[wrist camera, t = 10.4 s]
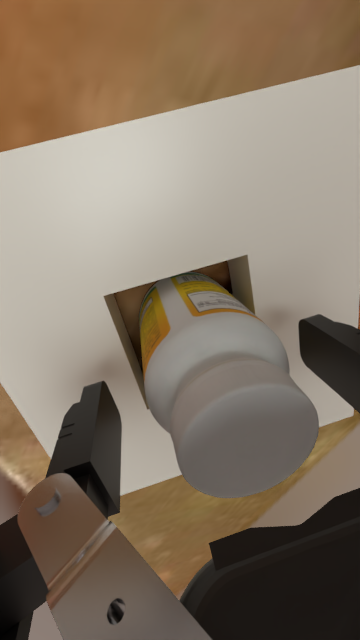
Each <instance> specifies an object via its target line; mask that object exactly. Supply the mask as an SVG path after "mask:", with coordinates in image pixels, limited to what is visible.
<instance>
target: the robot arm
mask: <svg viewBox="0 0 360 640" xmlns="http://www.w3.org/2000/svg"><path fill="white" fill-rule="evenodd" d="M298 328H299V346H300V355H301V358H302V361H303V362H304V364H305V365H306V366H307V367H308V368H309V369H310V370H311V371H312V372H313V373H314V374H316V375H317V376H318V377H319V378H320V379H321V380H322V381H324V382H325V383H326V384H327V385H328V386H329V387H330V388H332V389H333V390H334V391H335V392H336V393H337V394H338V395H340V396H341V397H342V398H343V399H344V400H345V401H346V402H347V403H349V404H350V405H351V406H352V407H353V408H354V409H355V410H357V411H358V412H359V413H360V330H359V329H357V328H355V327H353V326H351V325H348V324H344V323H340V322H334V321H332V320H330V319H328V318H327V317H325V316H323V315H321V314H317V315H314V316H311V317H307V318H304V319H301V320H300V321H299V324H298ZM121 438H122V423H121V417H120V413H119V410H118V408H117V406H116V404H115V401H114V399H113V397H112V395H111V392H110V390H109V388H108V386H107V384H106V382H105V381H100V382H97V383H94V384H91V385H87V386H84V388H83V391H82V395H81V399H80V402H78V403H74V404H73V405H72V406H71V407H70V409H69V410H68V411H67V413H66V414H65V416H64V419H63V422H62V425H61V430H60V432H59V435H58V440H57V442H56V445H55V448H54V452H53V455H52V458H51V462H50V465H49V468H48V471H47V475H46V478H45V479H44V480H42V481H41V482H40V483H38V484H37V485H36V486H35V487H34V488H33V489H32V490H31V491H30V492H29V493H28V495H27V496H26V497H25V499H24V501H23V502H22V504H21V506H20V509H19V512H18V514H17V515H15V516H14V517H12V518H11V519H9V520H8V521H6V522H5V523H3V524H1V525H0V640H28V637H29V632H30V627H31V621H32V616H33V611H34V610H35V609H36V608H38V607H39V606H40V605H42V604H43V603H44V602H45V601H47V603H48V606H49V608H50V610H51V613H52V615H53V618H54V620H55V622H56V624H57V626H58V629H59V631H60V633H61V636H62V638H63V640H360V488H358V489H356V490H353V491H350V492H347V493H345V494H342V495H339V496H336V497H334V498H333V499H332V500H330V501H329V502H328V503H327V504H326V505H324V506H323V507H322V508H321V509H320V510H318V511H317V512H316V513H315V514H313V515H312V516H311V517H310V518H309V519H307V520H306V521H305V522H304V523H302V524H300V525H297V526H280V527H258V528H249V529H246V530H243V531H241V532H238V533H235V534H233V535H230V536H227V537H224V538H222V539H219V540H216V541H213V542H211V543H209V545H210V549H211V553H212V557H213V558H212V559H211V560H210V561H209V562H207V563H206V564H205V565H204V566H203V567H202V568H201V569H200V570H199V571H198V572H197V573H196V575H195V576H194V577H193V579H192V580H191V582H190V583H189V584H188V586H187V588H186V589H185V591H184V593H183V595H182V596H181V599H180V601H179V600H178V599H177V598H176V596H175V595H174V594H173V593H172V592H171V590H170V589H169V588H168V587H167V586H166V585H165V583H164V582H163V581H162V580H161V579H160V577H159V576H158V575H157V574H156V573H155V572H154V570H153V569H152V568H151V567H150V566H149V564H148V563H147V562H146V561H145V560H144V559H143V557H142V556H141V555H140V554H139V553H138V551H137V550H136V549H135V548H134V547H133V546H132V544H131V543H130V542H129V541H128V540H127V538H126V537H125V536H124V535H123V534H122V533H121V531H120V530H119V529H118V528H117V527H116V526H115V524H114V523H113V522H111V521H110V522H109V521H108V516H111V515H114V514H117V513H120V478H121Z"/></svg>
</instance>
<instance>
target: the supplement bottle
mask: <svg viewBox="0 0 360 640" xmlns="http://www.w3.org/2000/svg"><path fill="white" fill-rule="evenodd" d="M139 328H140V340H141V351H142V364H143V377H144V387H145V395H146V400H147V403H148V407H149V409H150V411H151V413H152V415H153V417H154V418H155V420H156V421H157V422H158V423H159V425H160V426H161V427H162V428H163V429H164V430H166V431H167V432H168V433H170V434H171V438H172V441H173V445H174V449H175V454H176V458H177V463H178V466H179V469H180V471H181V473H182V475H183V477H184V478H185V480H186V481H187V482H188V483H189V484H190V485H191V486H192V487H194V488H195V489H197V490H198V491H200V492H203V493H205V494H207V495H211V496H215V497H220V498H237V497H245V496H249V495H252V494H256V493H259V492H262V491H265V490H267V489H269V488H271V487H273V486H275V485H277V484H279V483H280V482H282V481H283V480H285V479H286V478H287V477H289V476H290V475H291V474H293V473H294V472H295V471H296V470H297V469H298V468H299V467H300V466H301V465H302V464H303V462H304V461H305V460H306V458H307V457H308V456H309V454H310V453H311V451H312V449H313V447H314V445H315V442H316V439H317V436H318V429H319V420H318V414H317V411H316V409H315V407H314V405H313V403H312V402H311V400H310V399H309V398H308V396H307V395H306V394H305V393H304V392H303V391H302V390H301V389H300V388H299V387H298V385H297V384H296V383H295V382H294V380H293V379H292V378H291V377H290V375H289V374H290V369H289V360H288V357H287V353H286V350H285V348H284V346H283V344H282V342H281V341H280V339H279V337H278V336H277V335H276V334H275V332H274V331H273V330H272V329H271V328H269V327H268V326H267V325H266V324H265V323H264V322H263V321H262V320H261V319H259V318H258V317H257V316H256V315H255V314H253V313H252V312H251V311H250V310H249V309H248V308H246V307H245V306H244V305H243V304H242V303H240V302H239V301H238V300H237V299H236V298H235V297H233V296H232V295H231V294H230V293H229V292H228V291H227V290H226V289H224V288H223V287H222V286H221V285H220V284H218V283H217V282H216V281H214V280H213V279H211V278H210V277H208V276H206V275H203V274H200V273H196V272H185V273H181V274H178V275H175V276H171V277H168V278H164V279H161V280H159V281H158V282H157V283H156V284H154V285H153V286H152V287H151V288H150V289H149V291H148V292H147V294H146V295H145V297H144V299H143V302H142V304H141V308H140V312H139Z"/></svg>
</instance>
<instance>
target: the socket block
mask: <svg viewBox="0 0 360 640" xmlns="http://www.w3.org/2000/svg"><path fill="white" fill-rule="evenodd" d="M226 260H227V261H228V267H229V273H230V279H231V285H232V291H233V297H235V298H236V299H237V300H238V301H239V302H240V303H242V304H243V305H244V306H245V307H246V308H248V309H249V310H250V311H251V312H252V313H253V314H255V315H256V316H257V317H258V318H259V319H261V320H262V321H263V322H264V323H265V324H266V325H267V326H268V327H269V328H271V329H272V330H273V331H274V332H275V334H276V335H277V336H278V337H279V339H280V341H281V342H282V344H283V346H284V348H285V350H286V353H287V357H288V360H289V369H290V374H289V375H290V377H291V378H292V379H293V380H294V382H295V383H296V384H297V385H298V387H299V388H300V389H301V390H302V391H303V392H304V393H305V394H306V395H307V396H308V398H309V399H310V400H311V402H312V403H313V405H314V407H315V409H316V411H317V414H318V420H319V427H321V426H324V425H327V424H330V423H333V422H336V421H339V420H342V419H345V418H347V417H350V416H353V414H354V408H353V407H352V406H351V405H350V404H349V403H347V402H346V401H345V400H344V399H343V398H342V397H341V396H340V395H338V394H337V393H336V392H335V391H334V390H333V389H332V388H330V387H329V386H328V385H327V384H326V383H325V382H324V381H322V380H321V379H320V378H319V377H318V376H317V375H316V374H314V373H313V372H312V371H311V370H310V369H309V368H308V367H307V366H306V365H305V364H304V362H303V361H302V358H301V355H300V346H299V328H298V324H299V321H300V320H301V319H304V318H307V317H311V316H314V315H317V314H321V315H323V316H325V317H327V318H328V319H330V320H332V321H334V322H340V323H344V324H348V325H351V326H353V327H355V328H357V329H358V317H359V298H360V65H358V66H354V67H350V68H346V69H342V70H338V71H334V72H329V73H325V74H321V75H317V76H313V77H309V78H305V79H301V80H297V81H292V82H288V83H284V84H280V85H276V86H272V87H268V88H264V89H260V90H256V91H251V92H247V93H243V94H239V95H235V96H231V97H227V98H223V99H219V100H214V101H210V102H206V103H202V104H198V105H194V106H190V107H186V108H182V109H177V110H173V111H169V112H165V113H161V114H157V115H153V116H149V117H145V118H140V119H136V120H132V121H128V122H124V123H120V124H116V125H112V126H108V127H103V128H99V129H95V130H91V131H87V132H83V133H79V134H75V135H71V136H66V137H62V138H58V139H54V140H50V141H46V142H42V143H38V144H34V145H30V146H25V147H21V148H17V149H13V150H9V151H5V152H1V153H0V383H1V384H2V386H3V387H4V389H5V390H6V392H7V393H8V395H9V396H10V398H11V399H12V401H13V402H14V404H15V405H16V407H17V408H18V410H19V411H20V413H21V414H22V416H23V417H24V419H25V421H26V422H27V424H28V425H29V427H30V428H31V430H32V431H33V433H34V434H35V436H36V437H37V439H38V440H39V442H40V443H41V445H42V446H43V448H44V449H45V451H46V452H47V454H48V455H49V457H50V458H52V455H53V452H54V448H55V445H56V442H57V440H58V435H59V432H60V430H61V425H62V422H63V419H64V416H65V414H66V413H67V411H68V410H69V409H70V407H71V406H72V405H73V404H74V403H78V402H80V399H81V395H82V391H83V388H84V386H87V385H91V384H94V383H97V382H100V381H105V382H106V384H107V386H108V388H109V390H110V392H111V395H112V397H113V399H114V401H115V404H116V406H117V408H118V410H119V413H120V417H121V423H122V438H121V478H120V496H121V495H124V494H127V493H130V492H132V491H135V490H138V489H141V488H144V487H147V486H150V485H153V484H156V483H159V482H161V481H164V480H167V479H170V478H173V477H176V476H179V475H182V473H181V471H180V469H179V466H178V463H177V458H176V454H175V449H174V445H173V441H172V438H171V434H170V433H168V432H167V431H166V430H164V429H163V428H162V427H161V426H160V425H159V423H158V422H157V421H156V420H155V418H154V417H153V415H152V413H151V411H150V409H149V407H148V403H147V400H146V395H145V387H144V377H143V373H142V370H141V368H140V365H139V362H138V360H137V357H136V354H135V351H134V349H133V346H132V343H131V341H130V338H129V335H128V332H127V330H126V327H125V324H124V322H123V319H122V316H121V313H120V311H119V308H118V305H117V303H116V300H115V297H114V294H113V293H116V292H119V291H123V290H126V289H129V288H133V287H136V286H140V285H143V284H147V283H150V282H154V281H157V280H161V279H164V278H168V277H171V276H175V275H178V274H181V273H185V272H188V271H192V270H195V269H199V268H202V267H206V266H209V265H213V264H216V263H220V262H223V261H226Z"/></svg>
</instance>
